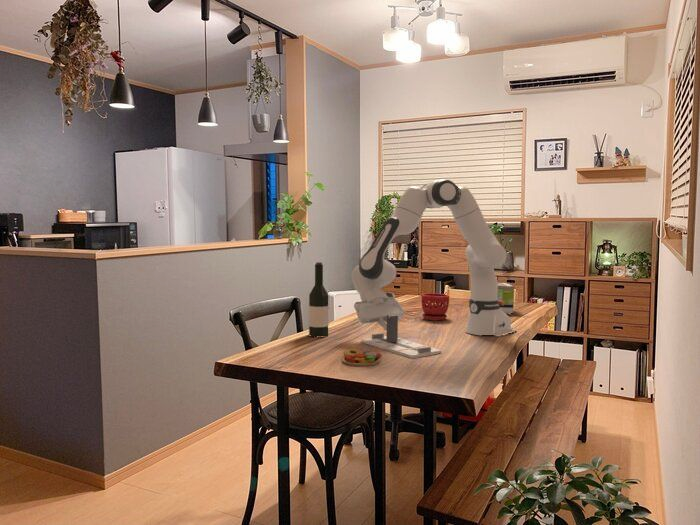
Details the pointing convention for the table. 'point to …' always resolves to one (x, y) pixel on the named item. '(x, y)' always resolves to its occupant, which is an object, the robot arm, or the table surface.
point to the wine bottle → (318, 305)
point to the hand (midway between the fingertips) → (388, 328)
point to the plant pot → (435, 306)
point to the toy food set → (360, 357)
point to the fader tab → (392, 328)
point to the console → (401, 346)
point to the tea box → (506, 297)
